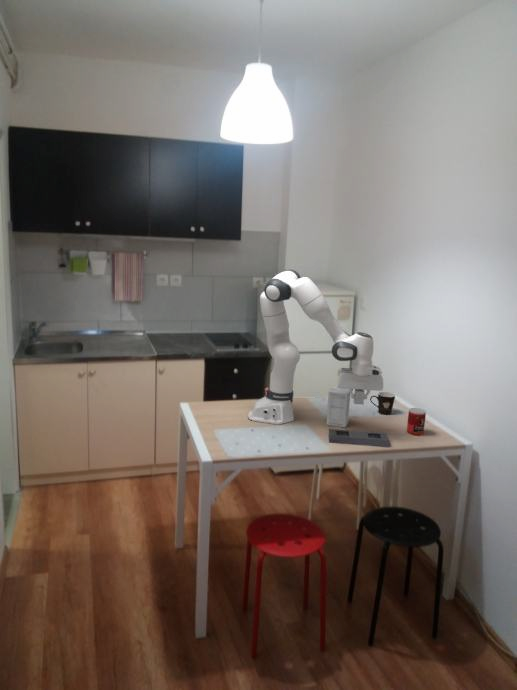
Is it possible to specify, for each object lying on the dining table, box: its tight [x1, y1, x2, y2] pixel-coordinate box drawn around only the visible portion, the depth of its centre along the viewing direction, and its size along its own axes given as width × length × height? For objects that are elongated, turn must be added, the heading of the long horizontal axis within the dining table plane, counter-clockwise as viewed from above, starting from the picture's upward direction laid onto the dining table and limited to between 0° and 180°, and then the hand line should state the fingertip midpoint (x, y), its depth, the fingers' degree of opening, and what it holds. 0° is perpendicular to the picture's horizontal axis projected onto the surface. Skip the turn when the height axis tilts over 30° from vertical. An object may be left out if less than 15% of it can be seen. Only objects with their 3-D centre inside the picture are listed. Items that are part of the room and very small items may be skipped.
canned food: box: [406, 407, 427, 437], centre depth 268 cm, size 8×8×11 cm
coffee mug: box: [369, 391, 396, 416], centre depth 295 cm, size 12×9×10 cm
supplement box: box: [326, 386, 351, 428], centre depth 275 cm, size 10×9×17 cm
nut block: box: [353, 389, 366, 406], centre depth 259 cm, size 4×4×6 cm
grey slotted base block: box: [327, 428, 390, 448], centre depth 256 cm, size 26×9×3 cm, turn 85°
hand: (359, 398), depth 259 cm, fingers closed on nut block, 4 cm apart
